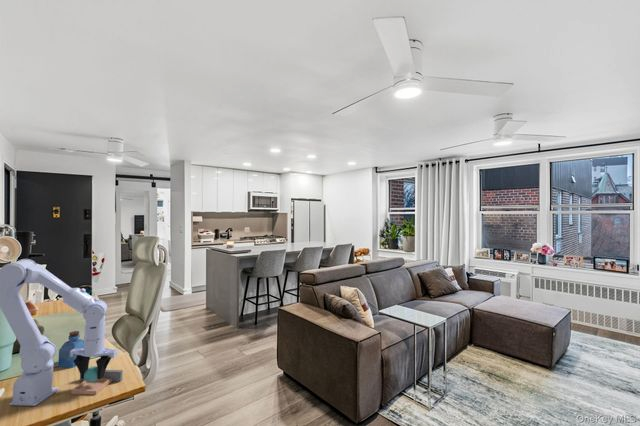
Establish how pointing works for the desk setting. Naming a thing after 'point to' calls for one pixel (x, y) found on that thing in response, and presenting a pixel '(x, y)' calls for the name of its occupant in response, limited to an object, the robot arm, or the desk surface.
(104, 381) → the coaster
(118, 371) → the wall
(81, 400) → the desk surface
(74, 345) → the perfume bottle
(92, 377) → the ball
